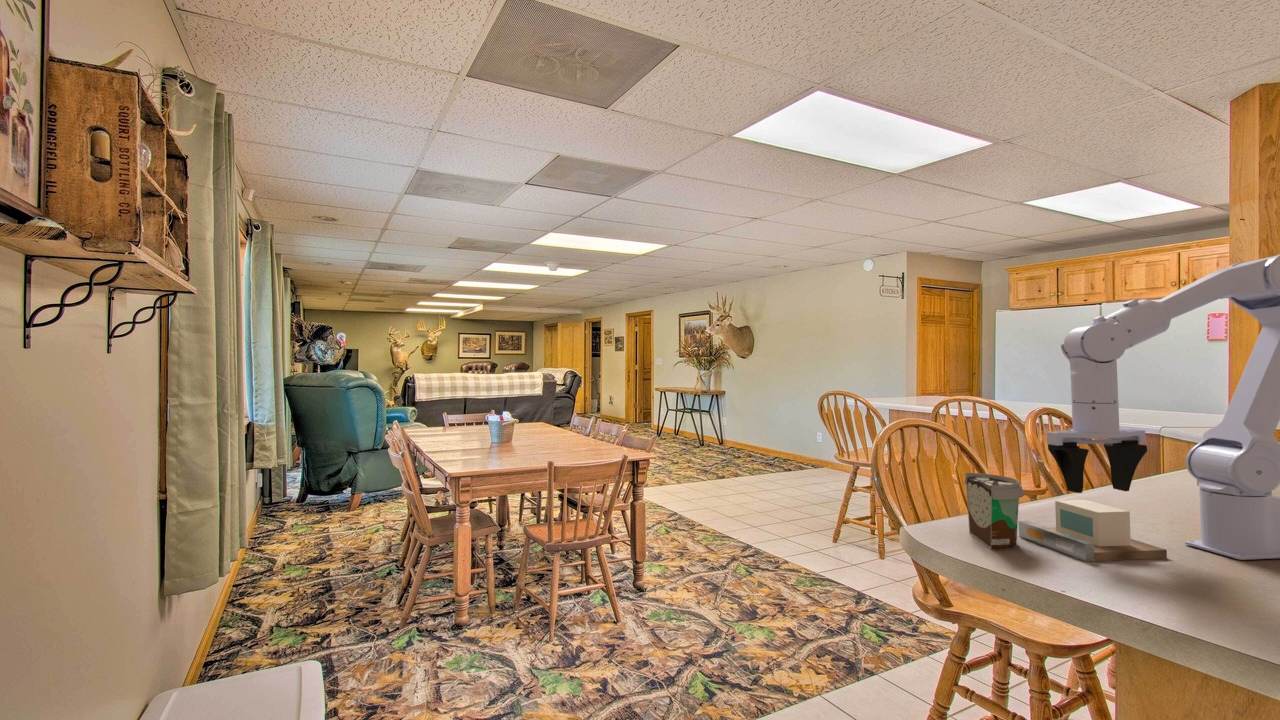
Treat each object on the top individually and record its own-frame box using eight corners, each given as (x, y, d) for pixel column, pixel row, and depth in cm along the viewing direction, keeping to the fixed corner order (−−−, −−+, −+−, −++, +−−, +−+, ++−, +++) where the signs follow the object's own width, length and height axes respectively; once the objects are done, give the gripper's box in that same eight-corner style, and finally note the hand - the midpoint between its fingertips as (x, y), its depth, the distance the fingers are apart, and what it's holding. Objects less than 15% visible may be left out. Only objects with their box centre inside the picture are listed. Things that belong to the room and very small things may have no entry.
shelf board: (1090, 533, 96) (1089, 526, 96) (1166, 558, 83) (1166, 549, 83) (1027, 535, 96) (1027, 528, 96) (1095, 561, 83) (1095, 552, 83)
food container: (1040, 554, 86) (1038, 486, 86) (995, 552, 87) (993, 485, 87) (1005, 532, 98) (1004, 472, 98) (966, 530, 99) (964, 472, 99)
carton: (1130, 545, 86) (1129, 511, 86) (1098, 546, 85) (1097, 512, 85) (1085, 530, 94) (1084, 499, 94) (1055, 531, 93) (1054, 500, 93)
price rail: (1027, 535, 96) (1026, 520, 96) (1094, 561, 83) (1094, 543, 83) (1017, 536, 95) (1017, 521, 95) (1084, 561, 82) (1083, 543, 82)
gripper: (1115, 400, 94) (1118, 484, 94) (1030, 402, 93) (1034, 487, 93) (1157, 402, 87) (1161, 493, 87) (1066, 404, 86) (1069, 496, 86)
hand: (1098, 490), depth 89 cm, fingers open, 7 cm apart
